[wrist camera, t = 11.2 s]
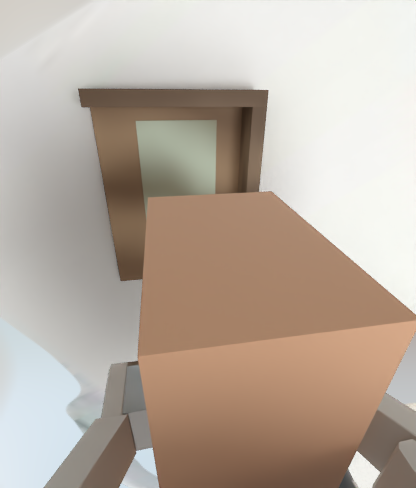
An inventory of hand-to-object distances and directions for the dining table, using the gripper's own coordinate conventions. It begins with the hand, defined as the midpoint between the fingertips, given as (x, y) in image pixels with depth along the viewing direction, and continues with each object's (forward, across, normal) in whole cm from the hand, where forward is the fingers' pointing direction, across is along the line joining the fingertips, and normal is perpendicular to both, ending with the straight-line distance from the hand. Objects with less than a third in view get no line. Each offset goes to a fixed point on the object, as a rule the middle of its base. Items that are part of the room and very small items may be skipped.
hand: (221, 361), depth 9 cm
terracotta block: (+2, 0, 0) cm, 2 cm away
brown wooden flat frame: (+17, 0, 0) cm, 17 cm away
